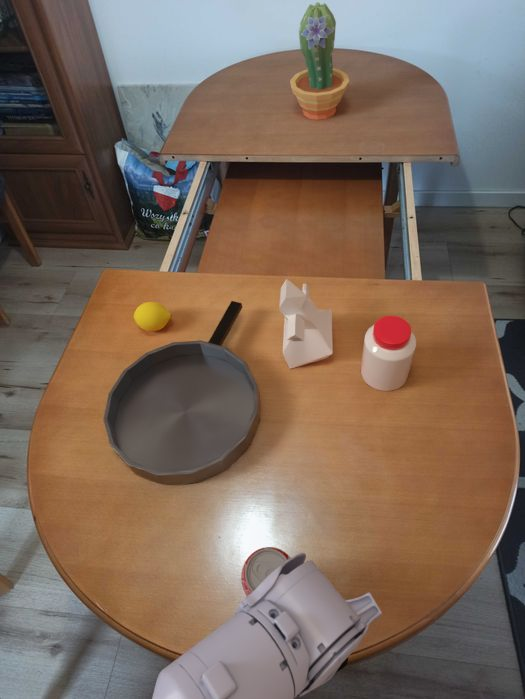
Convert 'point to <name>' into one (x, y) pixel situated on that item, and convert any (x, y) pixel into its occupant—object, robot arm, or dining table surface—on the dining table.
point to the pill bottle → (387, 353)
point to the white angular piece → (304, 327)
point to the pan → (184, 409)
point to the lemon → (151, 316)
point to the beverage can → (261, 567)
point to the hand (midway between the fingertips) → (308, 656)
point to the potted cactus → (318, 65)
